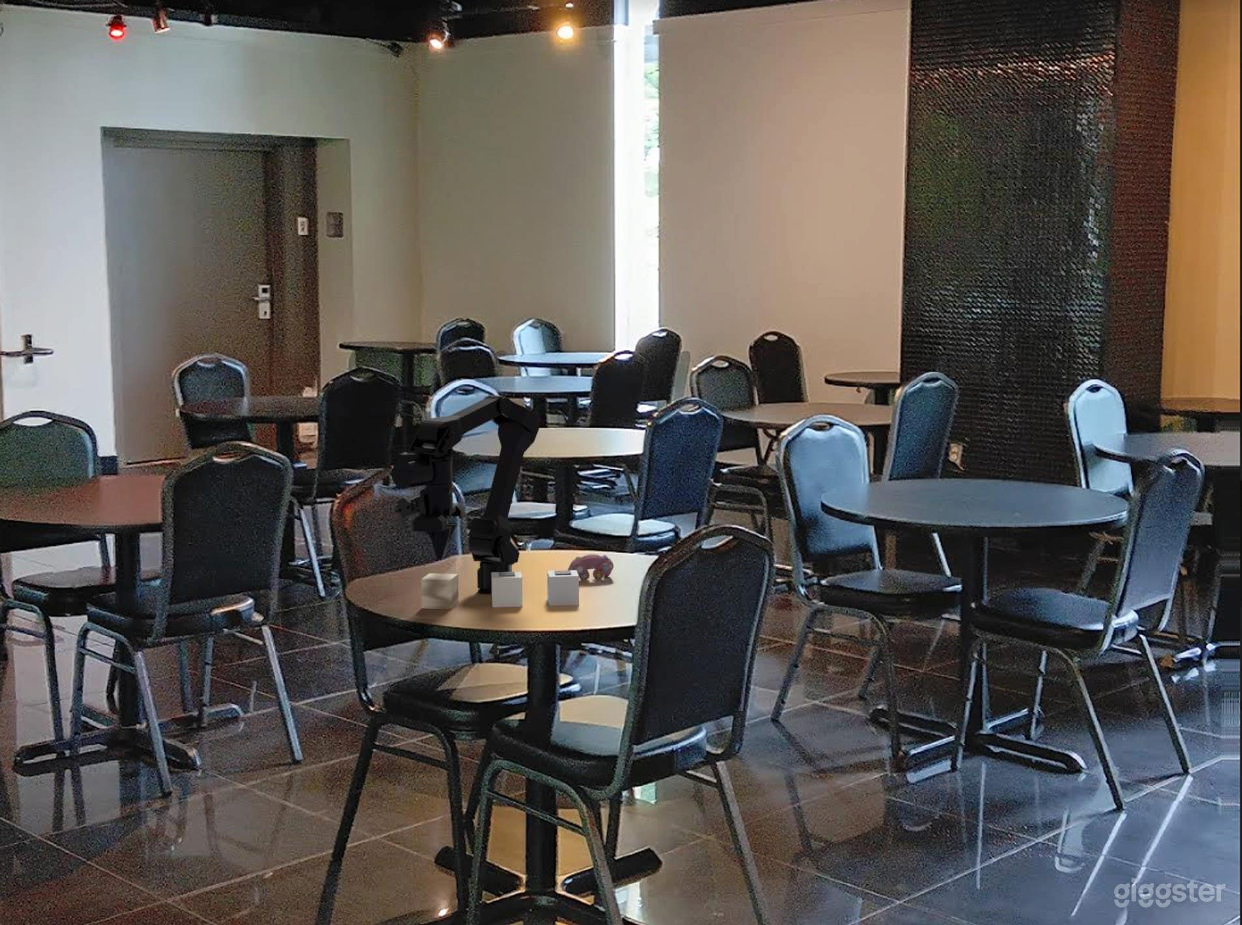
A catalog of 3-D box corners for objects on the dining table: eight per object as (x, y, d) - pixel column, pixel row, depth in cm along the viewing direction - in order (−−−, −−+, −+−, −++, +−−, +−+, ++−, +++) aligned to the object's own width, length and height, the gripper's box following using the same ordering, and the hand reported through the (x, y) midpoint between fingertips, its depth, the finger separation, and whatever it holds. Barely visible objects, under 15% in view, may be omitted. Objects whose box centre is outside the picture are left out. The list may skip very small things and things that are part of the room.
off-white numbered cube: (521, 600, 314) (520, 570, 314) (522, 606, 308) (522, 576, 308) (491, 601, 314) (491, 570, 313) (492, 607, 308) (492, 576, 307)
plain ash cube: (458, 603, 312) (458, 574, 311) (450, 609, 306) (450, 580, 305) (429, 602, 313) (429, 573, 312) (421, 608, 307) (421, 579, 306)
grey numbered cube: (576, 598, 316) (576, 568, 315) (579, 605, 310) (578, 574, 309) (547, 599, 315) (547, 569, 314) (549, 606, 309) (549, 575, 308)
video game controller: (569, 588, 333) (573, 562, 329) (564, 575, 336) (568, 550, 333) (613, 585, 336) (617, 560, 332) (608, 573, 339) (611, 547, 335)
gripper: (412, 475, 317) (414, 549, 319) (385, 489, 298) (387, 567, 300) (464, 476, 315) (466, 551, 317) (440, 489, 297) (442, 569, 299)
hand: (439, 559), depth 308 cm, fingers closed
